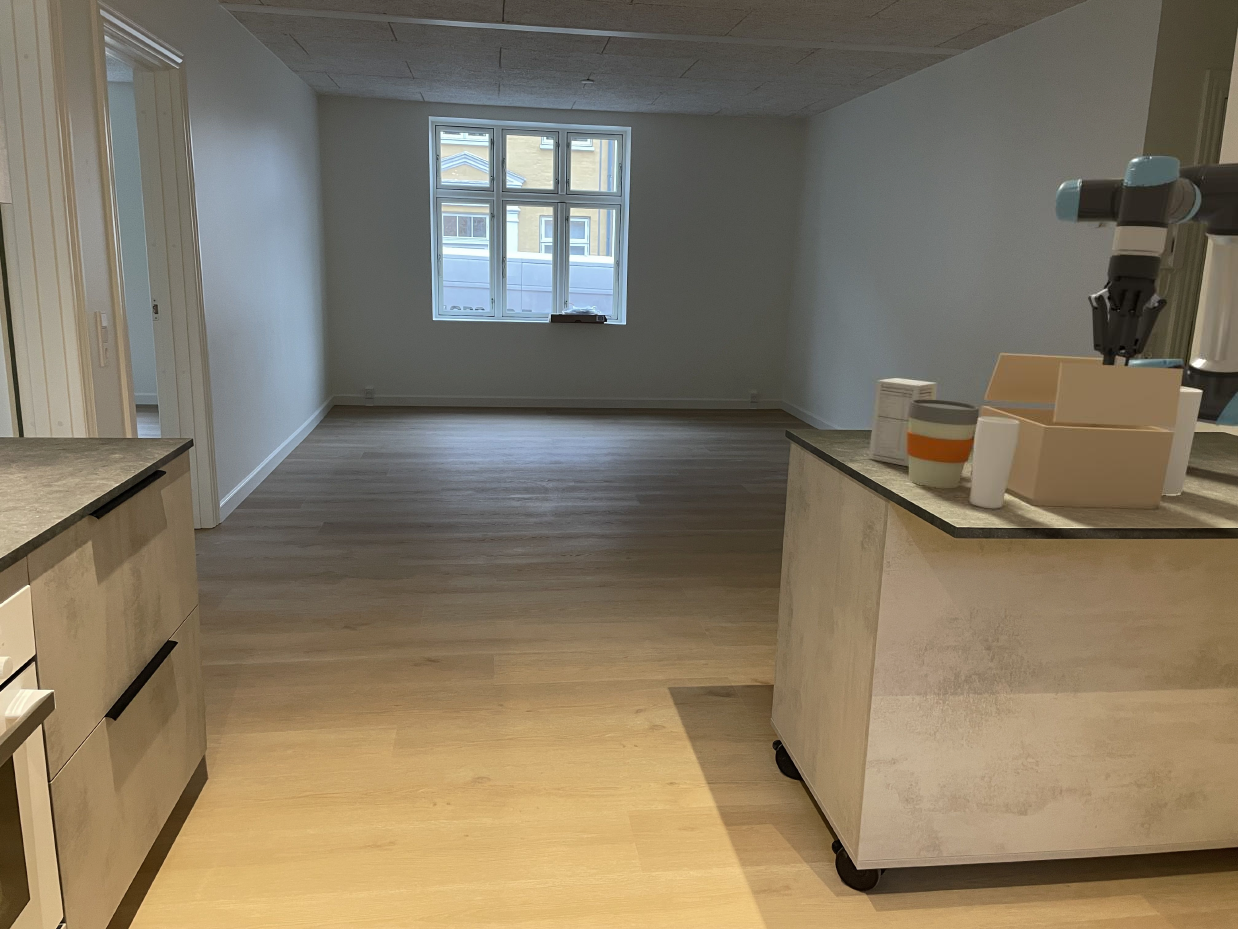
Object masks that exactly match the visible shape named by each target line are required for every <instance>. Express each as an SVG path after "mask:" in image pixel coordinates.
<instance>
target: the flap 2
mask: <svg viewBox="0 0 1238 929" xmlns="http://www.w3.org/2000/svg"><path fill="white" fill-rule="evenodd" d="M1182 374H1183V369H1172V368H1152V367H1132V366H1113V365H1093V364H1073V363H1060V369H1059V378H1058V386H1057V394H1056V402H1055V404H1054V409H1055V411H1054V419H1053V422H1065V423H1088V424H1111V425H1134V426H1157V427H1175V424H1176V417H1177V410H1178V402H1179V395H1180V388H1181V381H1182Z"/></svg>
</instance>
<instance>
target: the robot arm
mask: <svg viewBox="0 0 1238 929" xmlns="http://www.w3.org/2000/svg"><path fill="white" fill-rule="evenodd" d="M1124 175H1125V176H1124V177H1114V178H1098V179H1097V178H1096V179H1093V178H1092V179H1082V178H1079V179H1074V180H1073V179H1072V180H1066V181H1064V182H1063V183H1062V184H1060V186H1059V187H1058V189H1057V191H1056V195H1055V200H1054V213H1055V216H1056V218H1057V219H1058V220H1059V221H1060V222H1065V223H1074V224H1077V223H1116V224H1115V226H1116V227H1115V231H1114V236H1113V237H1114V238H1113V242H1112V246H1111V247H1112V248H1111V250H1112V251H1113V252H1115V253H1114V254H1112V255H1111V256H1109V263H1108V267H1107V273H1106V274H1107V281H1106V282H1105V284H1104V285H1103V290H1101V291H1099V292H1097V293H1095V294H1094V293H1091V294H1089V295H1088V298H1087V300H1088V302H1089V305H1090V306H1091V311H1092V312H1091V313H1092V339H1093V341H1092V342H1093V350H1094V351H1095V352H1099V353H1100V355H1103V357H1102V358H1103V363H1102V365H1113V366H1132V367H1152V368H1172V369H1183V374H1182V381H1181V386H1183V387H1189V388H1194V389H1199V390H1202V391H1203V392H1202V397H1201V402H1200V407H1199V412H1198V416H1197V421H1196V423H1197V422H1198V423H1204V424H1209V425H1215V426H1218V427H1219V426H1226V427H1238V162H1228V163H1227V162H1226V163H1212V164H1211V163H1208V164H1206V163H1205V164H1203V163H1202V164H1200V163H1199V164H1192V165H1187V166H1181V162H1180V160H1179V159H1178V158H1177V157H1175V156H1165V155H1150V156H1149V155H1148V156H1147V155H1146V156H1145V155H1144V156H1138V157H1134V158H1132V159H1131V160H1130V161H1129V162H1128V164H1127V169H1126V171H1125V174H1124ZM1185 223H1187V224H1206V225H1205V235H1206V236H1207V238H1208V239H1210V240H1211V241H1212V248H1211V254H1210V263H1209V270H1208V271H1209V272H1208V280H1207V287H1206V295H1205V301H1204V302H1205V304H1204V311H1203V317H1202V319H1203V320H1202V325H1201V334H1200V342H1199V350H1198V354H1197V355H1196V356H1194V357H1193V358H1192V359H1190V360H1189V363H1188V366H1186V365H1184V361H1183V359H1181V358H1149V359H1148V358H1147V359H1143V358H1142V359H1141V358H1140V359H1133V358H1134V357H1135V356H1136V355H1141V354H1143V352H1144V349H1145V347H1146V345H1147V343H1148V340H1149V338H1150V336H1151V333H1152V331H1153V329H1154V328H1155V324H1156V323H1157V322H1156V321H1157V320H1158V317H1159V314H1160V313H1161V312H1162V311H1163V309H1165V307H1166V306H1167V304H1168V300H1167V299H1166V298H1161V297H1160V296H1159V295H1158V294H1156V293H1157V292H1156V291H1157V288H1156V286H1155V285H1156V283H1155V282H1156V280H1157V279H1158V278H1159V274H1160V269H1161V264H1162V261H1163V260H1162V258H1161V257H1160V256H1159V255H1160V254H1163V253H1164V251H1165V247H1166V246H1165V245H1166V240H1167V239H1166V238H1167V235H1168V234H1167V233H1168V229H1169V225H1179V224H1185ZM1107 303H1108V304H1109V307H1108V305H1107Z"/></svg>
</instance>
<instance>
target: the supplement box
mask: <svg viewBox="0 0 1238 929" xmlns="http://www.w3.org/2000/svg"><path fill="white" fill-rule="evenodd" d="M875 391H876V392H875V400H874V408H873V415H872V417H873V418H872V425H871V435H870V442H869V443H870V444H869V450H868V451H869V453H868V460H873V461H879V462H885V463H889V464H892V465H893V464H895V465H899V466H904V467H909V455H908V454H907V430H908V429H909V417H908V416H907V415H908V411H909V407H910V403H911V400H915V399H933V400H937V392H938V383H937V382H932V381H931V382H930V381H924V380H916V379H915V380H914V379H907V378H901V377H899V378H898V377H895V378H885V379H880V380H877V384H876V390H875Z"/></svg>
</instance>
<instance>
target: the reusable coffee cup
mask: <svg viewBox="0 0 1238 929" xmlns="http://www.w3.org/2000/svg"><path fill="white" fill-rule="evenodd" d="M979 408H980V407H978V406H977V405H974V404H971V403H967V402H961V401H960V402H959V401H954V400H953V401H952V400H945V399H936V400H933V399H915V400H911V403H910V407H909V411H908V415H907V416H908V417H909V429H908V430H907V454H908V455H909V466H908V480H910V482H911V481H912V482H911V483H913V482H914V483H913V484H915V483H918V484H917V485H919V484H921V485H920V486H923V485H925V486H924V487H928V486H929V487H930V488H934V487H936V488H935V489H955V488H958V487H959V485H960V481H961V477H962V474H963V472H964V471H963V470H964V468H965V467H964V466H965V464H966V463H967V462H968V461H969V459H970V455H971V452H972V448H973V446H974V437H975V436H974V434H975V430H976V425H977V420H978V418H979V415H980V410H979Z"/></svg>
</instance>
